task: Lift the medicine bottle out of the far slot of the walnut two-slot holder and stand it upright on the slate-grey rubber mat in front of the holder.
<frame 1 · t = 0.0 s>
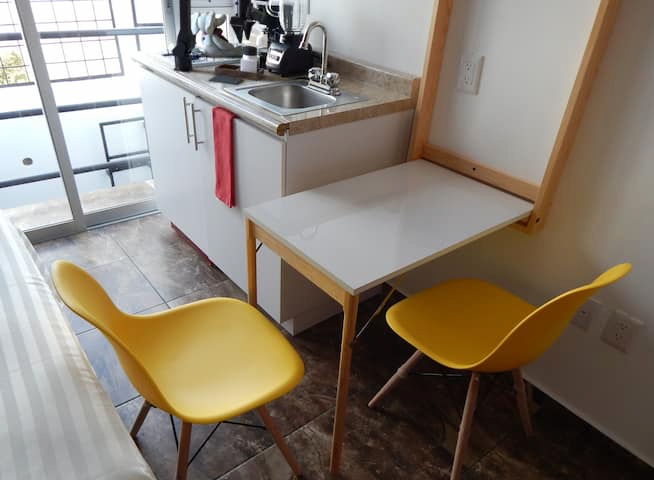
hand: (244, 41, 202), 15 cm above the kitchen counter, tool pointing down, fingers open, 9 cm apart
medicine bottle: (249, 76, 213), resting on holder
mat: (226, 80, 205), on the kitchen counter
holder: (239, 75, 214), on the kitchen counter
plush elephant: (213, 55, 245), on the kitchen counter
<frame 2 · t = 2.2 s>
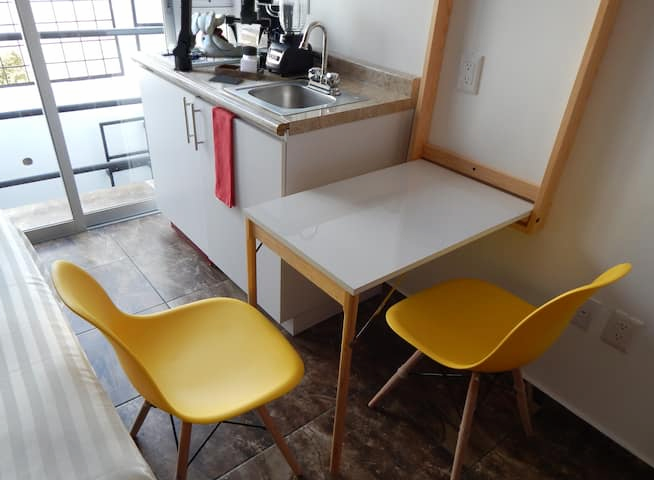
hand: (247, 43, 204), 14 cm above the kitchen counter, tool pointing down, fingers open, 9 cm apart
nothing on the kitchen counter moved.
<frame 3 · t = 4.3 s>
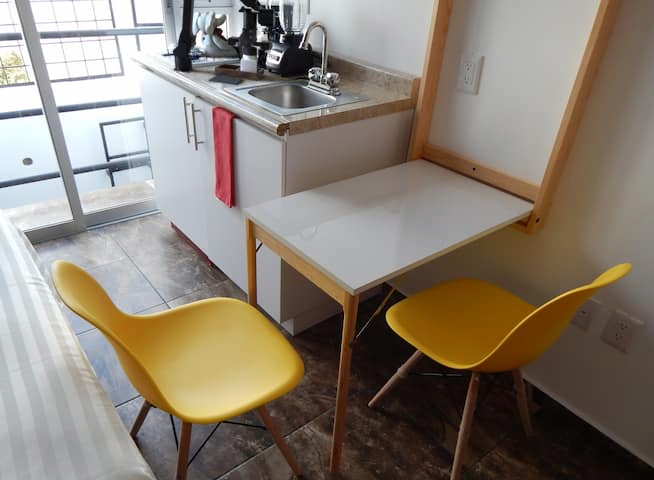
hand: (249, 64, 210), 5 cm above the kitchen counter, tool pointing down, fingers closed on medicine bottle, 7 cm apart
medicine bottle: (249, 76, 213), resting on holder, touching gripper
everything else where it was.
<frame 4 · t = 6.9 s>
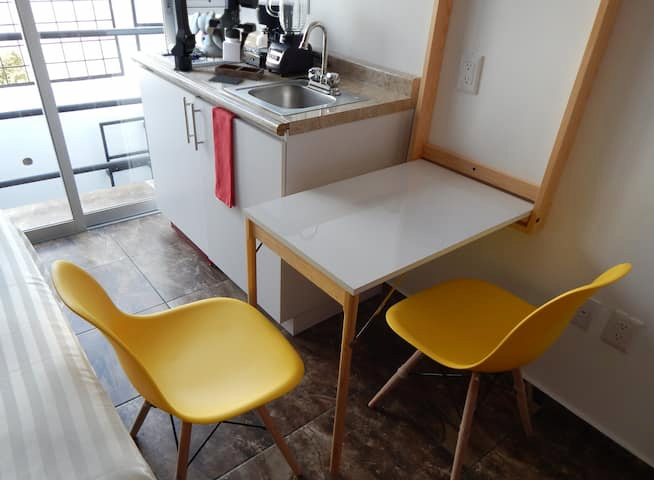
hand: (232, 48, 200), 12 cm above the kitchen counter, tool pointing down, fingers closed on medicine bottle, 7 cm apart
medicine bottle: (232, 60, 203), point 8 cm above the kitchen counter, touching gripper
everything else where it was.
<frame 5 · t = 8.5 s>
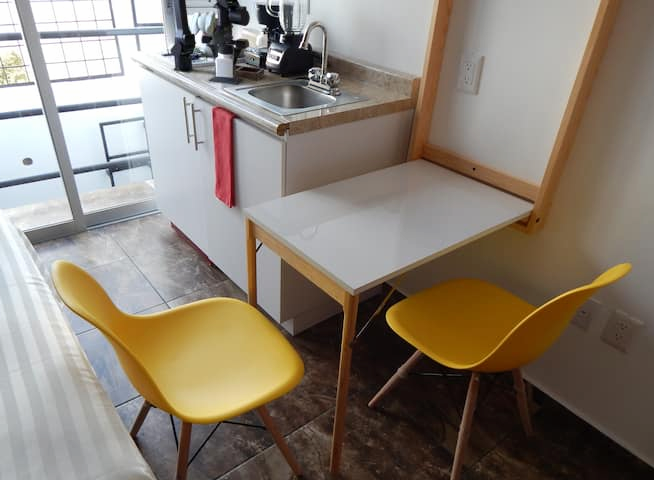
hand: (225, 63, 201), 7 cm above the kitchen counter, tool pointing down, fingers closed on medicine bottle, 7 cm apart
medicine bottle: (226, 75, 204), point 2 cm above the kitchen counter, touching gripper
everything else where it was.
when the fingers open (5 cm above the kitchen counter, at t = 9.7 s): medicine bottle stays where it is, resting on mat.
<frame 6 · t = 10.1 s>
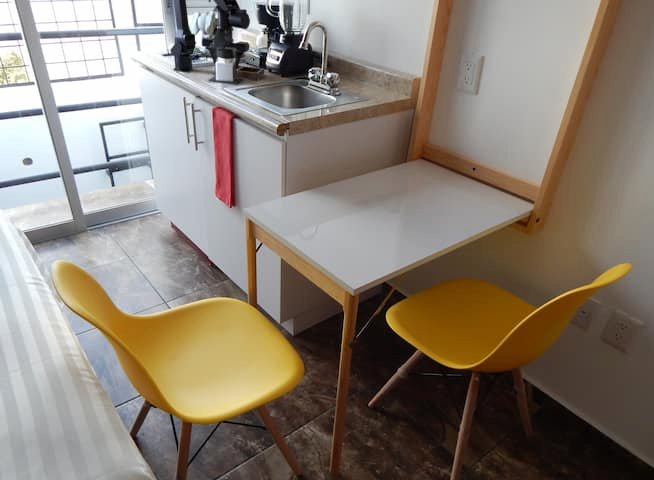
hand: (226, 66, 202), 6 cm above the kitchen counter, tool pointing down, fingers open, 9 cm apart
medicine bottle: (226, 79, 205), resting on mat
everything else where it was.
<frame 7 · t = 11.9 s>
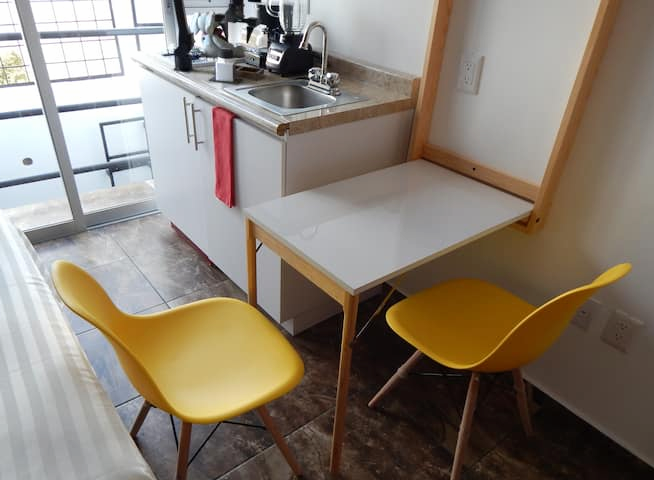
hand: (237, 42, 209), 13 cm above the kitchen counter, tool pointing down, fingers open, 9 cm apart
nothing on the kitchen counter moved.
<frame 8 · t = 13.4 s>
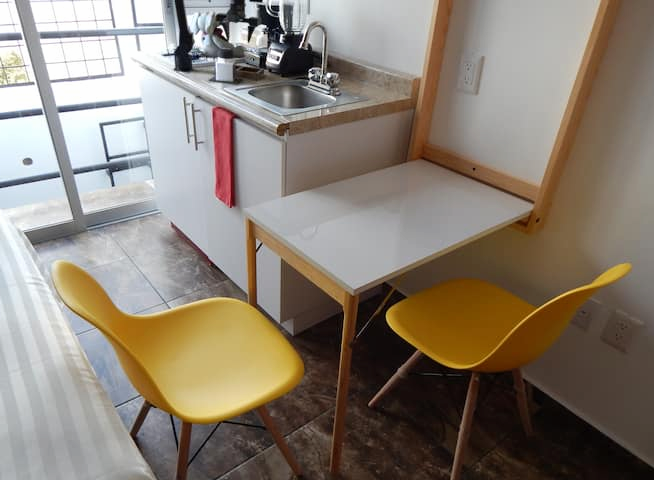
hand: (238, 41, 210), 13 cm above the kitchen counter, tool pointing down, fingers open, 9 cm apart
nothing on the kitchen counter moved.
at the end: medicine bottle inside the target area on the mat (0.1 cm from its centre), point 0.2 cm above the mat's base; medicine bottle tilted 0°; the gripper is holding nothing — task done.
